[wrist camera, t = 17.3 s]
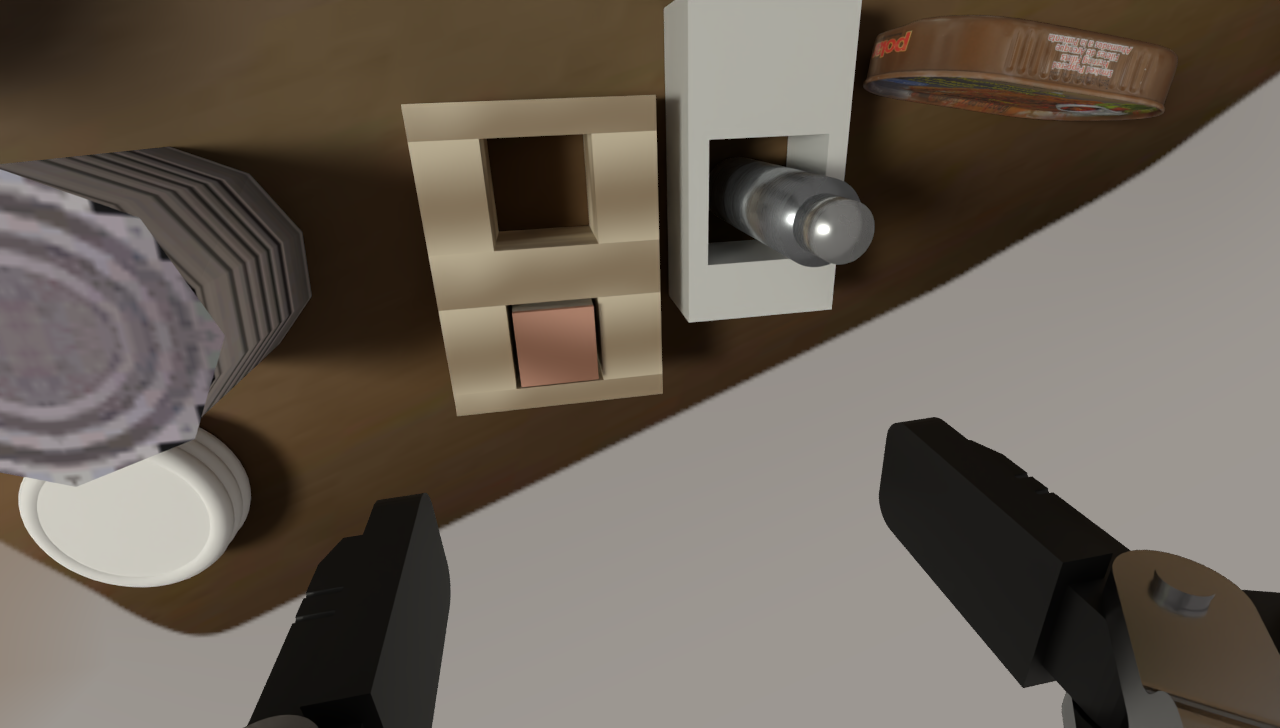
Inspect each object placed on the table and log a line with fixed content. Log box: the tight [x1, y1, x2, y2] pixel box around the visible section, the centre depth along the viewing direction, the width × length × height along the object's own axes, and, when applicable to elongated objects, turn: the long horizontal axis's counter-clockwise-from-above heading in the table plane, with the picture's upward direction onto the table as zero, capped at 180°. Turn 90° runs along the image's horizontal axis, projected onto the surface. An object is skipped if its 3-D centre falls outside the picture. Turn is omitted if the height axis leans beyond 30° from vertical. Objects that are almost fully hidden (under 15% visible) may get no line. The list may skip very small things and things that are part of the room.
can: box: [0, 147, 312, 487], centre depth 25 cm, size 11×11×12 cm
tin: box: [863, 15, 1178, 121], centre depth 30 cm, size 15×3×8 cm, turn 83°
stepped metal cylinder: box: [709, 157, 875, 267], centre depth 28 cm, size 4×4×13 cm
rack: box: [664, 0, 862, 323], centre depth 31 cm, size 15×8×5 cm, turn 2°
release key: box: [512, 298, 599, 387], centre depth 32 cm, size 4×4×4 cm
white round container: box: [19, 427, 251, 587], centre depth 34 cm, size 10×10×4 cm
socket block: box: [401, 95, 663, 416], centre depth 31 cm, size 15×11×5 cm
